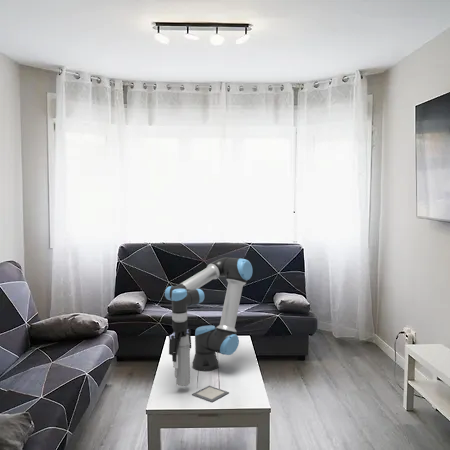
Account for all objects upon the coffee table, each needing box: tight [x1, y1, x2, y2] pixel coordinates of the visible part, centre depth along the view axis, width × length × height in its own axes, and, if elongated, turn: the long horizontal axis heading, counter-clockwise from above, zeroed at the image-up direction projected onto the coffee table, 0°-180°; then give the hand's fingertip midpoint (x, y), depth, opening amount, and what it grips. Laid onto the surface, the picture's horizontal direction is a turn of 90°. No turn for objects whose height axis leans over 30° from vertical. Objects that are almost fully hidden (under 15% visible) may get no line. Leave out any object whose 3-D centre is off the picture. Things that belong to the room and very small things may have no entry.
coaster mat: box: [191, 385, 230, 403], centre depth 224 cm, size 13×13×1 cm
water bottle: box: [174, 334, 191, 387], centre depth 227 cm, size 9×8×25 cm
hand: (180, 365), depth 227 cm, fingers open, 6 cm apart
